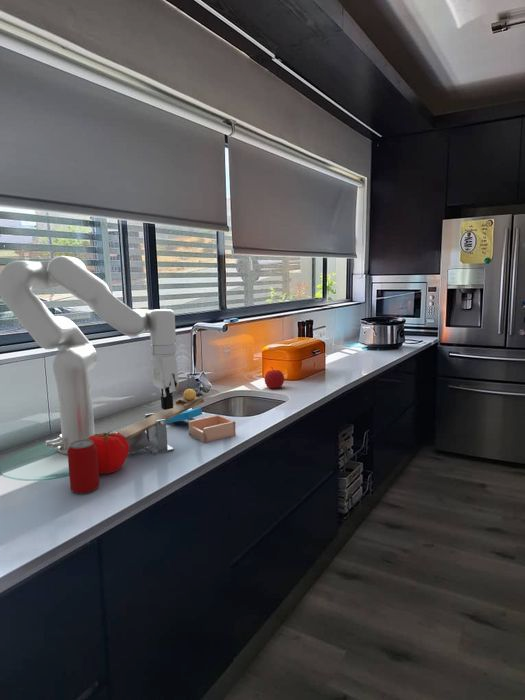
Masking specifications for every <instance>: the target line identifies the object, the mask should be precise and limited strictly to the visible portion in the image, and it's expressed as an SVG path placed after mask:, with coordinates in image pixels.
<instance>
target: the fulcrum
mask: <svg viewBox="0 0 525 700" xmlns="http://www.w3.org/2000/svg"><path fill="white" fill-rule="evenodd" d="M153 414H155V412H152V413H146V414H144V419H145V418H147V417H149V416H151V415H153ZM145 432H146V435H147V438H148V441H149V443H150V445H149V446H148V447H146V448H145V449H146V450H147V451H149V452H150V453H151V454H153V455H155V456H157V455H161V454H164V453H168V452H169V453H170V452H173V451H175V450H174V448H173V446H170V445H169V444H168V431H167V423H166V419H162V420H157V421H156V426H154V427H152V428H150V429H148V430H146V431H145Z"/></svg>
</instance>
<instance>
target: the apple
mask: <svg viewBox="0 0 525 700" xmlns="http://www.w3.org/2000/svg"><path fill="white" fill-rule="evenodd" d="M284 382H285V376H284V374H283V372H282V371H281V370H279V369H274V368H273V367H271V370H268V371H266V373H265V374H264V384H265V385H266V387H267V388H269V389H280V388H282V386H283V384H284Z"/></svg>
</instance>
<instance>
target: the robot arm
mask: <svg viewBox="0 0 525 700" xmlns="http://www.w3.org/2000/svg"><path fill="white" fill-rule="evenodd" d="M50 288H51V289H53V288H62V289H63V290H65V291H66V292H67V293H70V295H72V296H74V297H75V298H77V299H78V300H79V301H81V302H82V303H84V304H85V305H87V307H89V308H90V310H91V311H93V312H94V313H95V315H97V316H98V317H99V319H101V320H102V321H103V322H105V323H106V324H108V325H109V326H110V327H112V328H114V329H115V330H117V331H118V332H119V333H121V334H123V335H125V336H128V337H137V336H139V335H141V334H144V333H149V335H150V351H151V352H150V353H151V383H152V385H153V386H155V387H156V388H158V389H159V396H160V402H161V403H160V404H161V405H160V406H161V407H160V408H161V410H167V409H172V408H173V405H174V393H176V388H177V387H178V386H179V370H178V364H177V363H178V362H177V357H176V356H177V353H178V351H177V350H178V349H177V337H176V336H177V335H176V316H175V315H176V314H175V312H174V310H172V309H170V308H169V309H168V308H160V309H159V308H158V309H145V308H144V309H143V308H135V309H132V308H130V307H129V305H126V304H125V303H124V302H123V301H121V300H120V299H118V298H117V297H116V296H115V295H114V294H113V293H112V292H111V290H110V288H109V286H108V284H107V283H106V282H105V281H104V280H102V279H101V278H100V277H99V276H97V275H95V274H94V273H92V272H91V271H89V270H88V269H87V266H86V265H85V263H84V262H83V261H82V260H80V259H79V258H77V257H75V256H74V257H73V256H66V255H59V256H55V257H53V258H52V259H51V260H42V261H30V260H14V261H11V262H8V263H7V264H5V266H3V268H2V269H1V271H0V298H1V300H2V301H3V303H4V304H5V305H6V306H7V308H8V309H9V310H10V311H11V313H12V314H13V315H14V316H15V318H16V319H17V320H18V321H19V322H20V325H22V326H23V328H24V329H25V330H26V332H28V334H29V335H30V336H31V338H33V340H34V342H35V344H37V345H38V346H39V347H40V348H42V349H45V350H55V349H57V350H58V352H57V354H56V355H55V357H54V359H53V362H52V370H53V374H54V378H55V382H56V388H57V397H58V398H57V399H58V408H59V418H60V431H61V434H59V437H56V439H50V440H49V439H48V440H45V447H46V448H49V447H52V449H54V448H57V452H59V453H60V454H63V455H68V453H67V451H68V449H69V447H70V444H71V443H72V442H74V441H78V440H85V439H88V438H89V437H90V436H93V435H96V431H95V419H94V417H95V416H94V406H93V405H94V403H93V396H92V385H91V381H90V378H89V372H90V371H92V370H93V369H95V367H96V366H97V363H98V362H99V361H98V359H99V356H98V352H97V351H96V348H95V347H94V346H93V345H92V343H91V342H90V340H89V339H88V338H87V337H86V335H85V334H84V333H83V332H82V331H81V329H80V327H78V325H77V324H76V323H75V322H74V321H72V320H71V319H70V318H68V317H66V316H61V315H56V316H55V315H54V314H53V313H52V312H51V310H49V309H48V307H47V305H46V304H45V303H44V302H43V301H42V300H41V298H39V297H38V296H37V295H36V294H35V293H34V292H33V290H43V289H44V290H45V289H50Z"/></svg>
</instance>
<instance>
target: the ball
mask: <svg viewBox="0 0 525 700" xmlns="http://www.w3.org/2000/svg"><path fill="white" fill-rule="evenodd" d="M182 395H183V396H182V397H184V399H185V400H187V401H193V400H194V399H195V398H196V397H197V393H196V391H195V390H194V389H193V388H187V389H186V390H184V392H183V394H182Z"/></svg>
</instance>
